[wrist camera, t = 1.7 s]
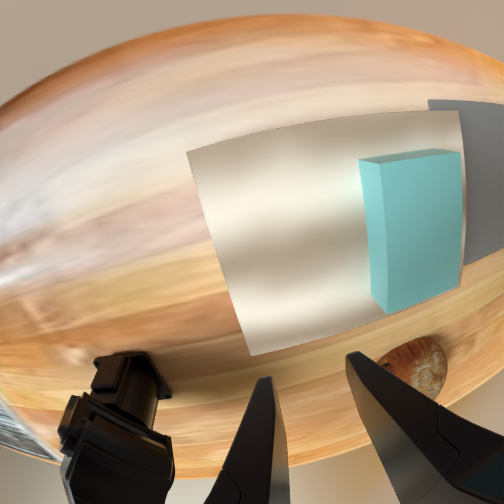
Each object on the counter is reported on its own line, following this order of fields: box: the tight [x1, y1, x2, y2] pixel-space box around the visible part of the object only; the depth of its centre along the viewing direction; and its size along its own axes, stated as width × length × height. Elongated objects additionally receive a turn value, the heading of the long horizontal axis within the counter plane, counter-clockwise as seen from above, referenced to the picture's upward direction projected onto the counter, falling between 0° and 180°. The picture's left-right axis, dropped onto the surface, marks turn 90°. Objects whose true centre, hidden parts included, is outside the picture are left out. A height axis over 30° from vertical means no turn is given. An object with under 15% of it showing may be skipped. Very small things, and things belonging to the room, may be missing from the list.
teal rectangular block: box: [358, 148, 463, 315], centre depth 15 cm, size 9×6×2 cm, turn 14°
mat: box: [428, 100, 504, 266], centre depth 19 cm, size 16×14×1 cm
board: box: [186, 111, 466, 356], centre depth 18 cm, size 14×18×4 cm
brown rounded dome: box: [377, 338, 448, 400], centre depth 25 cm, size 10×10×8 cm
